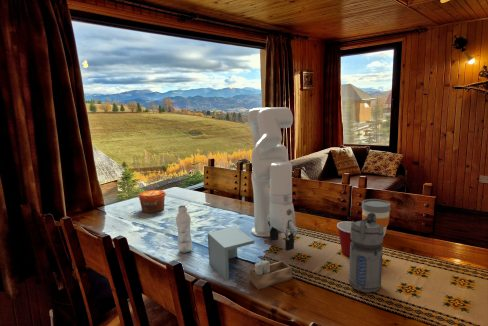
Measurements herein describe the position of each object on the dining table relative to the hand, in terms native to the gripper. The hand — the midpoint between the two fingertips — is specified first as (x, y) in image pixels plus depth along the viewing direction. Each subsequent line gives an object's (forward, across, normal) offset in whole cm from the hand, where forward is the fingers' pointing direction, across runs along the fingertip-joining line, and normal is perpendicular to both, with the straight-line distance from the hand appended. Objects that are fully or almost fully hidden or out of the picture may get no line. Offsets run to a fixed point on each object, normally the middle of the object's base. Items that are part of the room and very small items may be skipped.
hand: (281, 244), depth 118 cm
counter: (+12, +17, +12) cm, 24 cm away
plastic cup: (+12, +2, -35) cm, 37 cm away
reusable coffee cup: (+12, +11, -60) cm, 62 cm away
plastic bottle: (+12, +40, +23) cm, 48 cm away
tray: (+13, +1, +4) cm, 13 cm away
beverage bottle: (+13, -18, -22) cm, 31 cm away
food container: (+11, +105, +22) cm, 108 cm away
